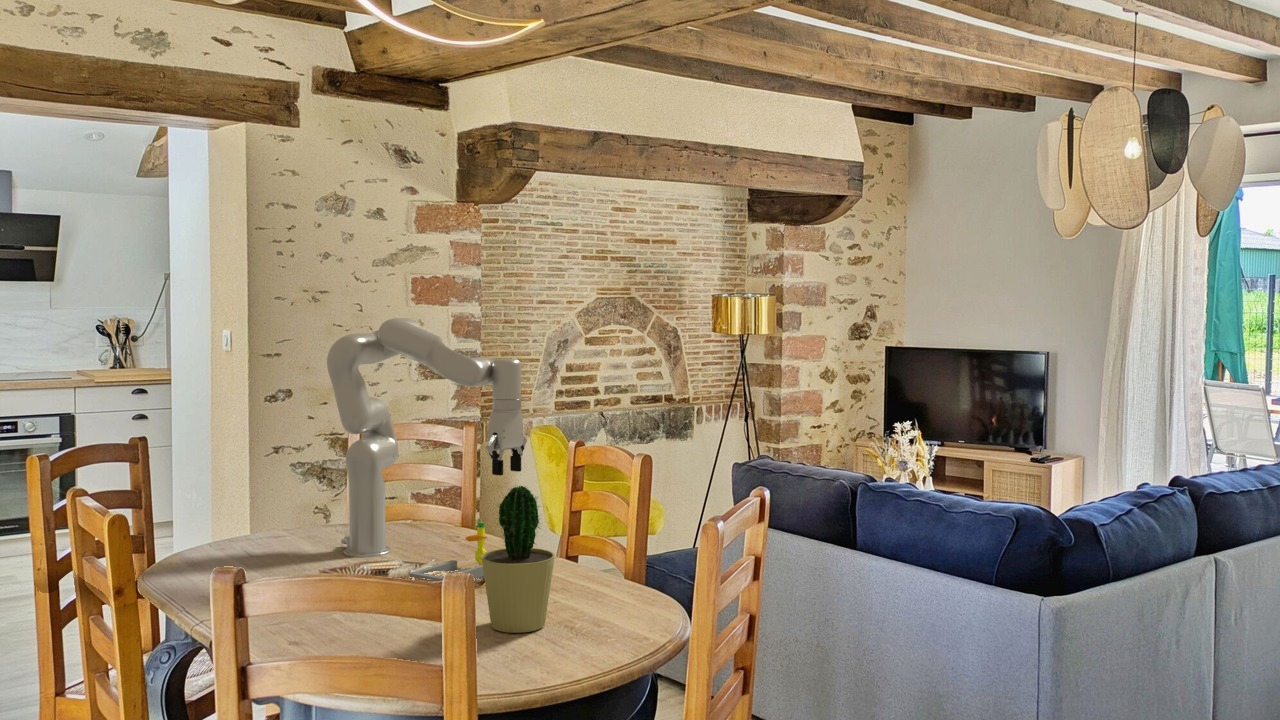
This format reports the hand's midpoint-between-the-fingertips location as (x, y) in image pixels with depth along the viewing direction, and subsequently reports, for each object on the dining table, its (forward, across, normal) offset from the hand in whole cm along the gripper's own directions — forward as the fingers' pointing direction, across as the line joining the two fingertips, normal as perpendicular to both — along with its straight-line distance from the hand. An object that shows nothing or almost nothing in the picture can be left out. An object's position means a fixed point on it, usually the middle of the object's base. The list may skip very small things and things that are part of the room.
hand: (506, 472), depth 278 cm
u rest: (+24, +23, 0) cm, 33 cm away
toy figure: (+24, +10, -2) cm, 26 cm away
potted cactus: (+24, +44, +36) cm, 62 cm away
